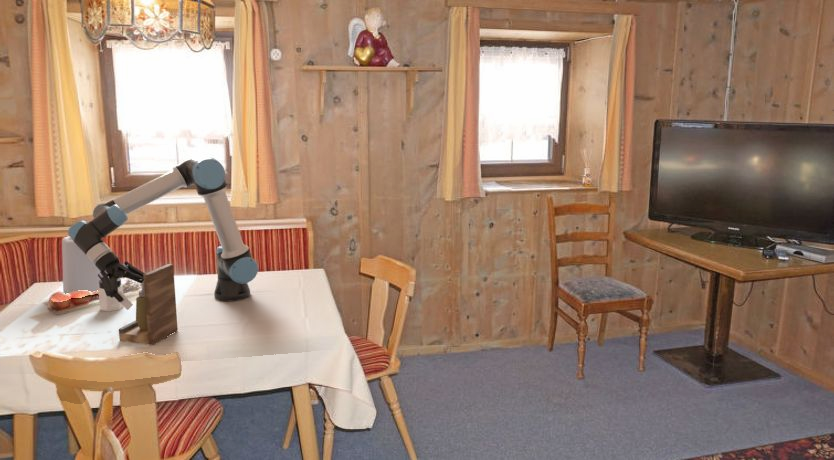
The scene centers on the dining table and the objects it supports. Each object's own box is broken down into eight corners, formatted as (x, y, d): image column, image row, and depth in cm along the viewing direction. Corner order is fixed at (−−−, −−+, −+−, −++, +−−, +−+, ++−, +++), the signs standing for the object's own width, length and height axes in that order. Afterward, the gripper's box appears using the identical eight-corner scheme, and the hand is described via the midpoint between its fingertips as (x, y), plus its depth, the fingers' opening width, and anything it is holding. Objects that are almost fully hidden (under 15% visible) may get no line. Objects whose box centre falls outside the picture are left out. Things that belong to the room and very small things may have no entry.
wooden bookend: (177, 331, 230) (173, 264, 224) (153, 345, 217) (148, 274, 211) (145, 327, 233) (139, 261, 228) (119, 340, 220) (113, 271, 214)
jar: (101, 312, 247) (98, 284, 244) (99, 306, 254) (96, 279, 251) (125, 309, 252) (123, 281, 249) (122, 303, 259) (120, 276, 256)
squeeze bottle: (141, 324, 228) (137, 278, 224) (163, 324, 229) (159, 277, 225) (133, 332, 220) (129, 284, 216) (156, 332, 221) (152, 284, 217)
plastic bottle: (98, 285, 281) (93, 225, 275) (108, 293, 270) (102, 231, 264) (61, 291, 272) (54, 230, 266) (69, 300, 261) (63, 236, 255)
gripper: (121, 255, 235) (158, 296, 235) (71, 273, 211) (112, 319, 211) (132, 243, 233) (169, 284, 233) (83, 260, 209) (124, 306, 209)
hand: (142, 301), depth 222 cm, fingers open, 13 cm apart
